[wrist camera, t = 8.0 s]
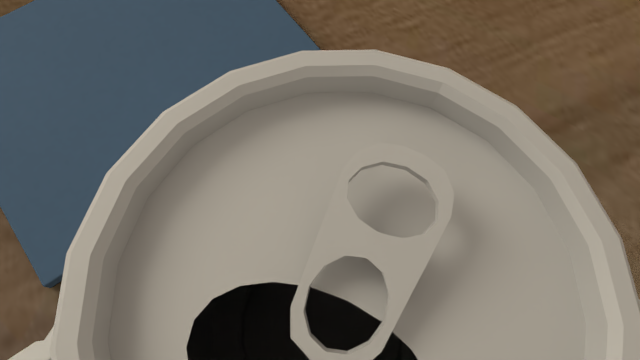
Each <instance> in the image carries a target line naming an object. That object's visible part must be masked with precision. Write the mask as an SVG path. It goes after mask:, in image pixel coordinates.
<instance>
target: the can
mask: <svg viewBox="0 0 640 360" xmlns="http://www.w3.org/2000/svg"><path fill="white" fill-rule="evenodd" d="M50 353H51V360H640V303H639V299H638V295H637V292H636V288H635V284H634V281H633V277H632V273H631V270H630V266H629V263H628V259H627V255H626V252H625V248H624V244H623V241H622V238H621V236H620V235H619V233H618V231H617V230H616V228H615V226H614V225H613V223H612V221H611V220H610V218H609V216H608V215H607V213H606V211H605V210H604V208H603V206H602V205H601V203H600V201H599V200H598V198H597V196H596V195H595V193H594V191H593V190H592V188H591V186H590V185H589V183H588V182H587V180H586V178H585V177H584V175H583V173H582V172H581V170H580V168H579V167H578V165H577V163H576V162H575V161H574V160H573V159H572V158H571V157H569V156H568V155H567V154H566V153H565V152H564V151H563V150H562V149H561V148H560V147H559V146H558V145H557V144H556V143H555V142H554V141H553V140H552V139H551V138H550V137H549V136H548V135H547V134H546V133H544V132H543V131H542V130H541V129H540V128H539V127H538V126H537V125H536V124H535V123H534V122H533V121H532V120H531V119H530V118H529V117H528V116H527V115H526V114H525V113H524V112H523V111H522V110H521V109H520V108H518V107H517V106H516V105H514V104H512V103H510V102H509V101H507V100H505V99H503V98H501V97H500V96H498V95H496V94H494V93H492V92H491V91H489V90H487V89H485V88H483V87H482V86H480V85H478V84H476V83H474V82H473V81H471V80H469V79H467V78H465V77H464V76H462V75H460V74H458V73H457V72H455V71H453V70H451V69H449V68H446V67H442V66H438V65H434V64H430V63H426V62H422V61H418V60H414V59H410V58H406V57H403V56H399V55H395V54H391V53H387V52H383V51H379V50H313V51H299V52H295V53H292V54H288V55H285V56H281V57H278V58H274V59H271V60H267V61H264V62H260V63H257V64H253V65H250V66H246V67H243V68H239V69H235V70H232V71H229V72H227V73H226V74H224V75H223V76H221V77H219V78H218V79H216V80H214V81H213V82H211V83H209V84H208V85H206V86H204V87H203V88H201V89H200V90H198V91H196V92H195V93H193V94H191V95H190V96H188V97H186V98H185V99H183V100H182V101H180V102H178V103H177V104H175V105H173V106H172V107H170V108H168V109H167V110H165V111H163V112H162V113H161V114H160V116H159V117H158V118H157V119H156V120H155V121H154V122H153V123H152V124H151V125H150V126H149V127H148V129H147V130H146V131H145V132H144V133H143V134H142V135H141V136H140V137H139V138H138V139H137V140H136V141H135V143H134V144H133V145H132V146H131V147H130V148H129V149H128V150H127V151H126V152H125V153H124V154H123V156H122V157H121V158H120V159H119V160H118V161H117V162H116V163H115V164H114V165H113V166H112V167H111V169H110V170H109V171H108V172H107V173H106V175H105V177H104V179H103V181H102V183H101V185H100V187H99V189H98V191H97V193H96V195H95V197H94V199H93V201H92V203H91V205H90V207H89V209H88V211H87V213H86V215H85V217H84V219H83V221H82V223H81V225H80V227H79V229H78V231H77V233H76V235H75V237H74V239H73V241H72V243H71V245H70V247H69V249H68V251H67V253H66V259H65V265H64V271H63V277H62V283H61V288H60V294H59V300H58V306H57V312H56V318H55V324H54V330H53V335H52V341H51V347H50Z"/></svg>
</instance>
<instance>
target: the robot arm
mask: <svg viewBox="0 0 640 360" xmlns="http://www.w3.org/2000/svg"><path fill="white" fill-rule="evenodd" d="M639 303H640V300H639ZM53 330H54V326H53V328H52V329H51V331H50V332H49V334H48V335H47V337H46V338H45V340H44V341H36V342H34V343H33V344H31V345H30V346H28V347H27V348H25V349H24V350H22V351H21V352H19V353H18V354H16V355H14V356H13V357H11V358H10V359H8V360H51V353H50V347H51V341H52V335H53Z"/></svg>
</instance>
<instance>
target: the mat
mask: <svg viewBox="0 0 640 360" xmlns="http://www.w3.org/2000/svg"><path fill="white" fill-rule="evenodd" d="M313 50H320V49H319V48H318V47H317V45H316V44H315V43H314V42H313V41H312V40H311V39H310V38H309V37H308V35H307V34H306V33H305V32H304V31H303V30H302V29H301V28H300V27H299V25H298V24H297V23H296V22H295V21H294V20H293V19H292V18H291V17H290V15H289V14H288V13H287V12H286V11H285V10H284V9H283V8H282V7H281V5H280V4H279V3H278V2H277V1H276V0H35V1H33V2H31V3H28V4H26V5H24V6H22V7H20V8H18V9H16V10H14V11H12V12H10V13H8V14H6V15H4V16H2V17H0V207H1V209H2V210H3V212H4V214H5V216H6V218H7V220H8V222H9V223H10V225H11V227H12V229H13V231H14V233H15V235H16V236H17V238H18V240H19V242H20V244H21V246H22V248H23V249H24V251H25V253H26V255H27V257H28V259H29V261H30V262H31V264H32V266H33V268H34V270H35V272H36V274H37V275H38V277H39V279H40V281H41V283H42V285H43V286H44V287H48V288H51V287H53V286H55V285H56V284H58V283H59V282H61V281H62V277H63V271H64V265H65V259H66V253H67V251H68V249H69V247H70V245H71V243H72V241H73V239H74V237H75V235H76V233H77V231H78V229H79V227H80V225H81V223H82V221H83V219H84V217H85V215H86V213H87V211H88V209H89V207H90V205H91V203H92V201H93V199H94V197H95V195H96V193H97V191H98V189H99V187H100V185H101V183H102V181H103V179H104V177H105V175H106V173H107V172H108V171H109V170H110V169H111V167H112V166H113V165H114V164H115V163H116V162H117V161H118V160H119V159H120V158H121V157H122V156H123V154H124V153H125V152H126V151H127V150H128V149H129V148H130V147H131V146H132V145H133V144H134V143H135V141H136V140H137V139H138V138H139V137H140V136H141V135H142V134H143V133H144V132H145V131H146V130H147V129H148V127H149V126H150V125H151V124H152V123H153V122H154V121H155V120H156V119H157V118H158V117H159V116H160V114H161V113H162V112H163V111H165V110H167V109H168V108H170V107H172V106H173V105H175V104H177V103H178V102H180V101H182V100H183V99H185V98H186V97H188V96H190V95H191V94H193V93H195V92H196V91H198V90H200V89H201V88H203V87H204V86H206V85H208V84H209V83H211V82H213V81H214V80H216V79H218V78H219V77H221V76H223V75H224V74H226V73H227V72H229V71H232V70H235V69H239V68H243V67H246V66H250V65H253V64H257V63H260V62H264V61H267V60H271V59H274V58H278V57H281V56H285V55H288V54H292V53H295V52H299V51H313Z"/></svg>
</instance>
